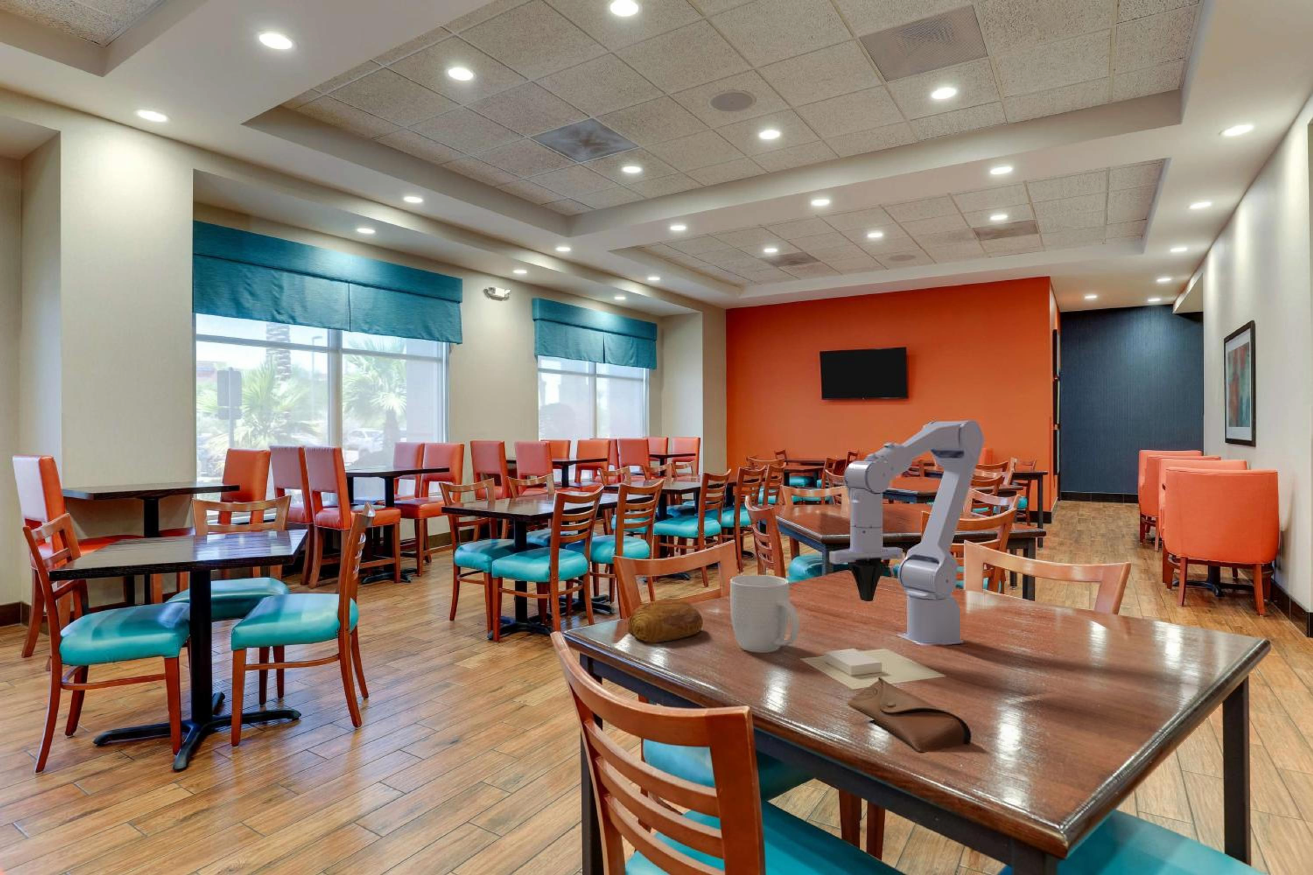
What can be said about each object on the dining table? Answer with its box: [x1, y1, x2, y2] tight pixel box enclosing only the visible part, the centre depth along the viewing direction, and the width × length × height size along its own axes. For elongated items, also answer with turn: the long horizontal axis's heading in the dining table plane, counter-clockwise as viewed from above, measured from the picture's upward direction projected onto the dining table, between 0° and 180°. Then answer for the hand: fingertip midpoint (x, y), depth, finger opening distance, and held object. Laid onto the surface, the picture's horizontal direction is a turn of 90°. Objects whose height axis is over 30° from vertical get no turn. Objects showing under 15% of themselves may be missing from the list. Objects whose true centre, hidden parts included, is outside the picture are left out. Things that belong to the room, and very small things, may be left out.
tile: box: [823, 648, 882, 676], centre depth 121 cm, size 2×8×6 cm
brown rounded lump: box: [627, 598, 704, 644], centre depth 145 cm, size 14×16×8 cm
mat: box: [799, 648, 947, 690], centre depth 121 cm, size 18×16×1 cm
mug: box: [729, 574, 800, 654], centre depth 132 cm, size 15×11×13 cm
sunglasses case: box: [846, 677, 972, 754], centre depth 99 cm, size 18×7×7 cm
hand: (866, 600), depth 130 cm, fingers closed
